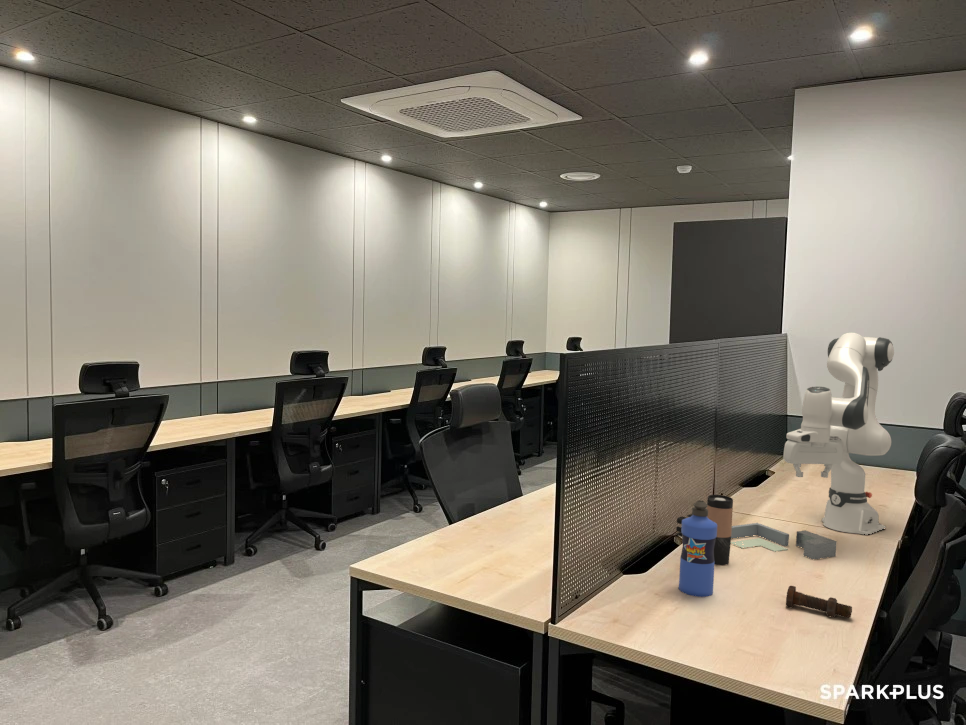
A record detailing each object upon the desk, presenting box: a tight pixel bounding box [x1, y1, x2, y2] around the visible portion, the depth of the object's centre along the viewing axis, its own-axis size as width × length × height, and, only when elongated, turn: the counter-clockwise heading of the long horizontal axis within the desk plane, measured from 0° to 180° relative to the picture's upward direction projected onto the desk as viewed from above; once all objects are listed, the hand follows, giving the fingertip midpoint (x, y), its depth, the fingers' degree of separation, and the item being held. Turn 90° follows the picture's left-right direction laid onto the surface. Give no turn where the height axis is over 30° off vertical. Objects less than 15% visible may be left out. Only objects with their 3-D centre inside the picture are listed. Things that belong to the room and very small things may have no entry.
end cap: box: [675, 513, 693, 538], centre depth 240 cm, size 10×7×7 cm
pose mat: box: [731, 537, 789, 553], centre depth 230 cm, size 14×12×1 cm
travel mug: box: [706, 494, 734, 566], centre depth 214 cm, size 8×8×20 cm
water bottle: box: [678, 500, 717, 598], centre depth 189 cm, size 9×9×25 cm
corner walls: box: [731, 522, 790, 547], centre depth 234 cm, size 18×14×4 cm
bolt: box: [785, 585, 853, 619], centre depth 178 cm, size 6×5×15 cm
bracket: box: [795, 529, 838, 560], centre depth 226 cm, size 10×12×5 cm
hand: (811, 477), depth 229 cm, fingers open, 8 cm apart
